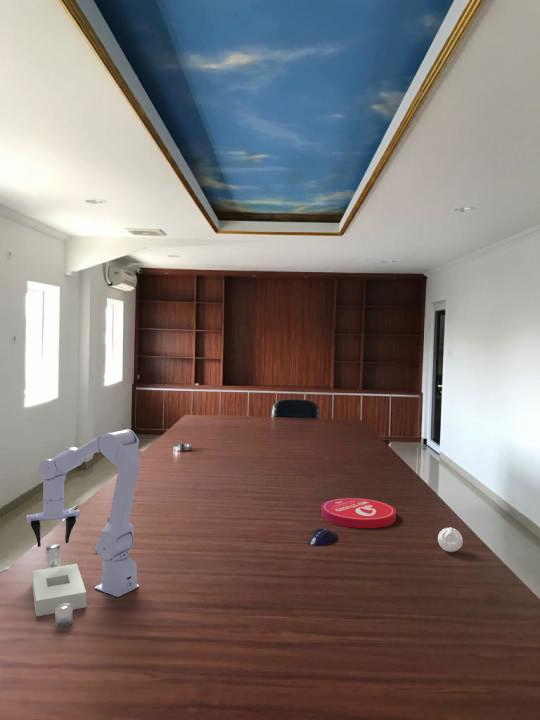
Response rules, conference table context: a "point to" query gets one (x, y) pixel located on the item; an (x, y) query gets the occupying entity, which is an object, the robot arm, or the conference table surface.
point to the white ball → (450, 539)
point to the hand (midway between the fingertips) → (53, 543)
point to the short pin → (63, 615)
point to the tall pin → (52, 555)
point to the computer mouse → (322, 537)
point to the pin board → (57, 588)
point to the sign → (358, 513)
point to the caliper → (105, 526)
